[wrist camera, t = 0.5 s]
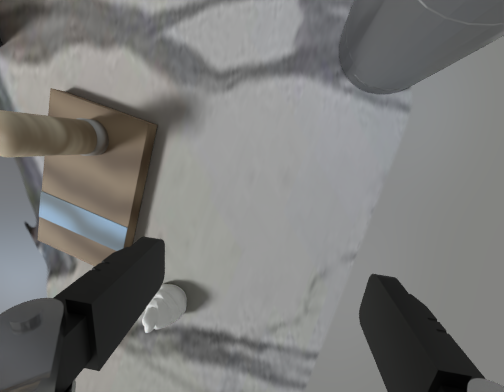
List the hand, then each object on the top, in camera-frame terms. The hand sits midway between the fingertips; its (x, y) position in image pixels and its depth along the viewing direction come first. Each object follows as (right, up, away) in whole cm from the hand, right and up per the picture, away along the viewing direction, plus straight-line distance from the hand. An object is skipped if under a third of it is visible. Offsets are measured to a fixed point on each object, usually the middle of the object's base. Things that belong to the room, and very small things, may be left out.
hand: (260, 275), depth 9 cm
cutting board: (-22, +4, +24) cm, 33 cm away
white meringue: (-12, -12, +25) cm, 31 cm away
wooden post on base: (-20, +10, +20) cm, 31 cm away
